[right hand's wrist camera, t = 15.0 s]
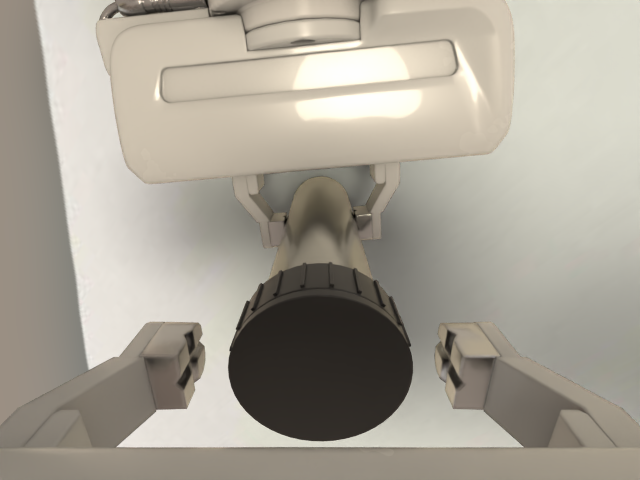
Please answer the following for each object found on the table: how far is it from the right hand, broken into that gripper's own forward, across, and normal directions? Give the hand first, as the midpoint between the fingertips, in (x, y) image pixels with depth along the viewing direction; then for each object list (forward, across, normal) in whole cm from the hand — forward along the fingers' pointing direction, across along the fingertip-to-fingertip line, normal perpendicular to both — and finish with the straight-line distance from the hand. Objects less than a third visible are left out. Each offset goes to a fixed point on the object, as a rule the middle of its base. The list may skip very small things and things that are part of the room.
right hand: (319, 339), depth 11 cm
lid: (-1, 0, 0) cm, 1 cm away
